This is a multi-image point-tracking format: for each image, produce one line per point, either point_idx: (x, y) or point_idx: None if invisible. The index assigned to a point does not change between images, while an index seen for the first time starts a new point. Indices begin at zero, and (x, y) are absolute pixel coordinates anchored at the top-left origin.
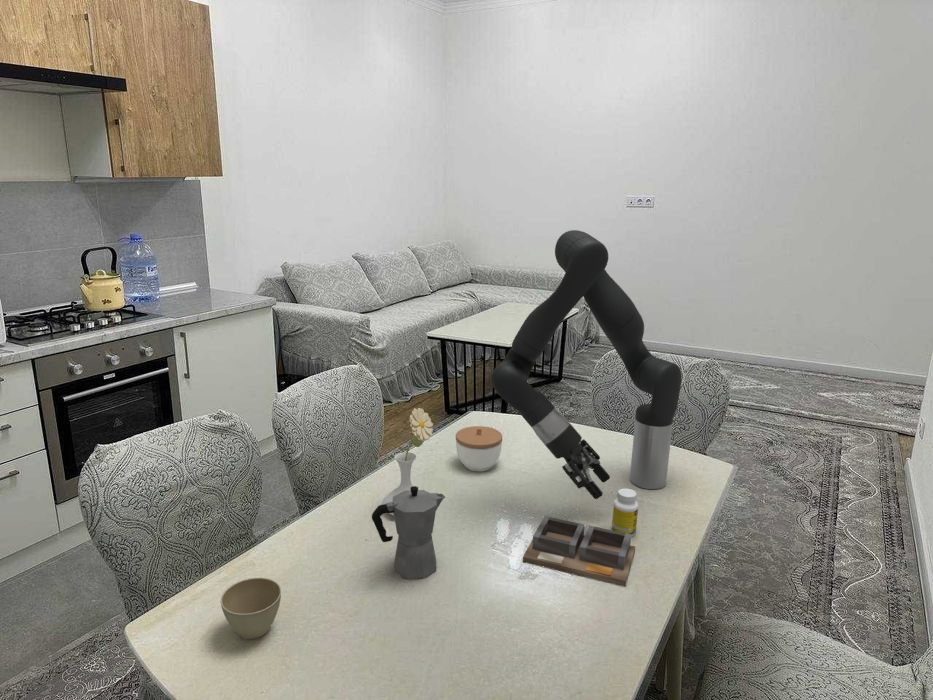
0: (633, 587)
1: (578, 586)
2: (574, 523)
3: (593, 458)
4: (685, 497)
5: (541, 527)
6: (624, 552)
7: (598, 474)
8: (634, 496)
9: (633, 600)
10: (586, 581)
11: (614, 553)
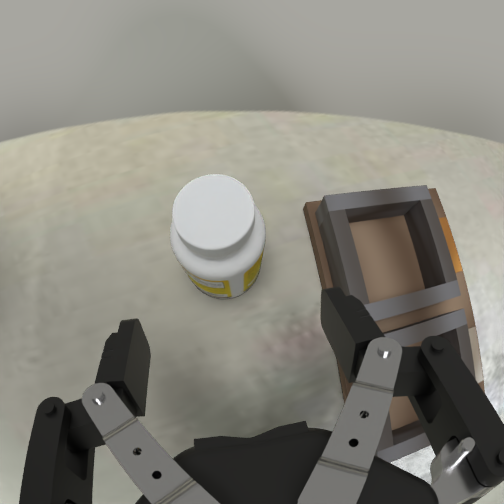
0: (420, 180)
1: (480, 271)
2: None
3: (147, 431)
4: (5, 188)
5: None
6: (412, 189)
7: (142, 379)
8: (227, 176)
9: (447, 173)
10: (463, 264)
11: (431, 209)
